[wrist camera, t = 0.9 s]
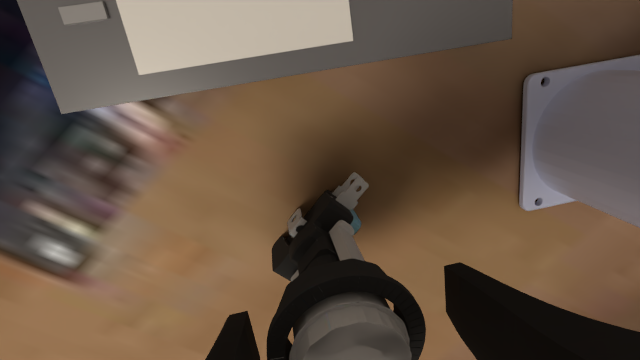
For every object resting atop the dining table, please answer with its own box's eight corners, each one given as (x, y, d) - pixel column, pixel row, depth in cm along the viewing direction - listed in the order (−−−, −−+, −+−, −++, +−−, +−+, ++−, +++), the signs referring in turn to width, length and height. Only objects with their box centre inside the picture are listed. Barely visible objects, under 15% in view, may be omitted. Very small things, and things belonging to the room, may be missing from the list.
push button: (320, 144, 19) (377, 225, 9) (392, 199, 20) (502, 315, 11) (246, 238, 20) (230, 397, 10) (320, 283, 21) (364, 456, 12)
